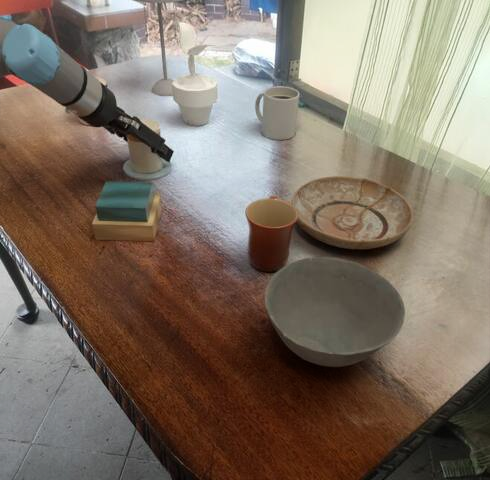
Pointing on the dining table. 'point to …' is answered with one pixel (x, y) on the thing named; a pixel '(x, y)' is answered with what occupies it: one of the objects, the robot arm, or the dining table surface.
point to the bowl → (333, 310)
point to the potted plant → (193, 81)
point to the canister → (144, 152)
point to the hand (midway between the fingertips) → (156, 151)
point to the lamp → (165, 84)
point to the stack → (127, 212)
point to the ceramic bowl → (352, 212)
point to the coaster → (147, 176)
